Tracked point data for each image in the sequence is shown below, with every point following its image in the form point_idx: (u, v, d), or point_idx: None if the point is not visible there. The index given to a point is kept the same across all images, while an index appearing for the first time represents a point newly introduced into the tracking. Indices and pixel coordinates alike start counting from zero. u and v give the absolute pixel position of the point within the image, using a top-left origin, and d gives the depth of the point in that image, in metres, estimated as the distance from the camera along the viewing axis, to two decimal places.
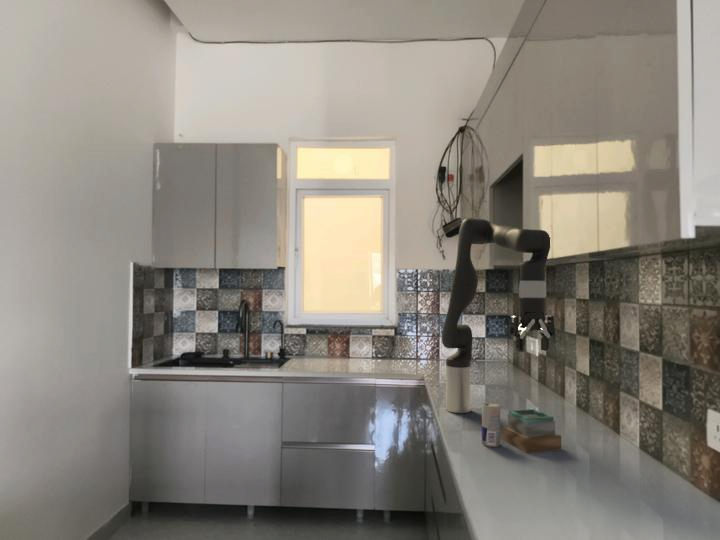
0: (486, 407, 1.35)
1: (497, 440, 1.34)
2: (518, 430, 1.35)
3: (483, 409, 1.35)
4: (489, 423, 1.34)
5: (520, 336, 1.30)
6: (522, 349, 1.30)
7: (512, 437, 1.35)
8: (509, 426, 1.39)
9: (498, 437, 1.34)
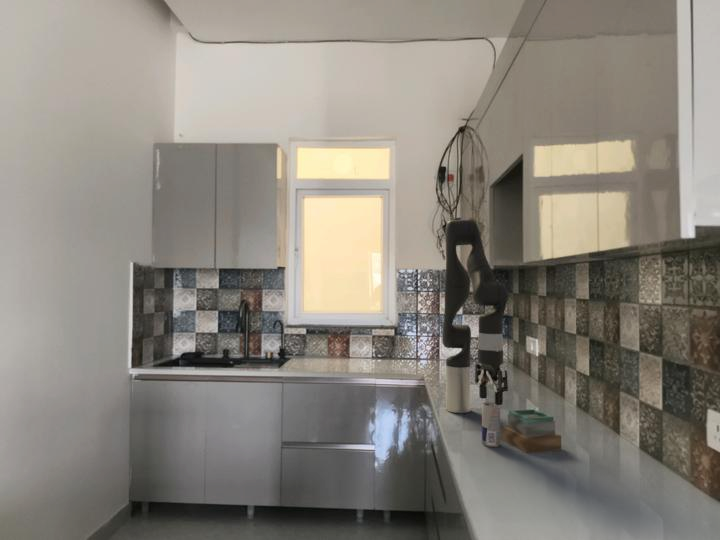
0: (486, 407, 1.35)
1: (497, 440, 1.34)
2: (518, 430, 1.35)
3: (483, 409, 1.35)
4: (489, 423, 1.34)
5: None
6: None
7: (512, 437, 1.35)
8: (509, 426, 1.39)
9: (498, 437, 1.34)
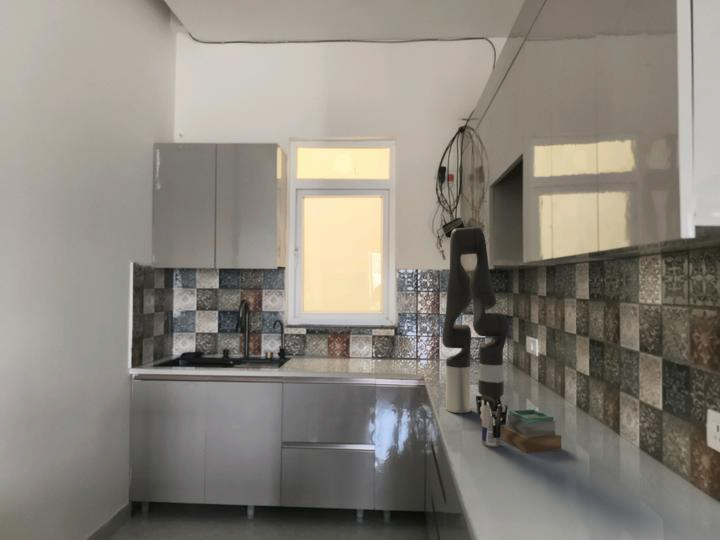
0: (486, 407, 1.35)
1: (497, 440, 1.34)
2: (518, 430, 1.35)
3: (483, 409, 1.35)
4: (489, 423, 1.34)
5: None
6: None
7: (512, 437, 1.35)
8: (509, 426, 1.39)
9: None
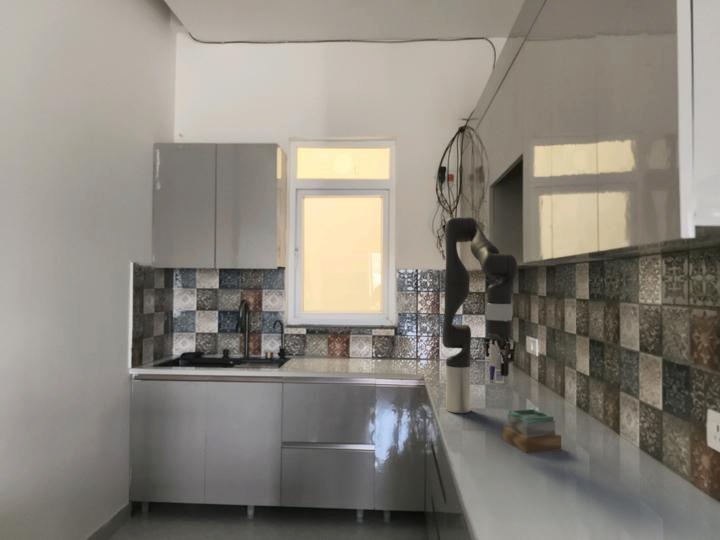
0: (494, 346, 1.35)
1: (505, 378, 1.34)
2: (518, 430, 1.35)
3: (491, 348, 1.36)
4: (497, 361, 1.35)
5: None
6: None
7: (512, 437, 1.35)
8: (509, 426, 1.39)
9: None
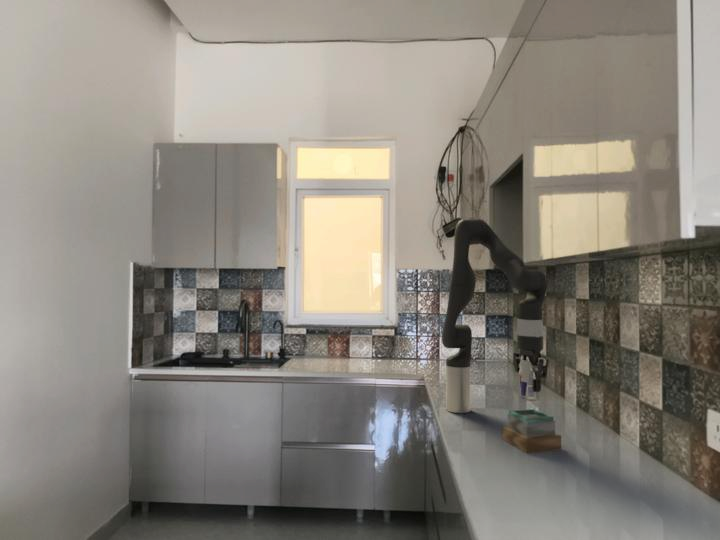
0: (526, 362, 1.36)
1: (537, 394, 1.35)
2: (518, 430, 1.35)
3: (522, 364, 1.37)
4: (529, 377, 1.35)
5: None
6: None
7: (512, 437, 1.35)
8: (509, 426, 1.39)
9: None
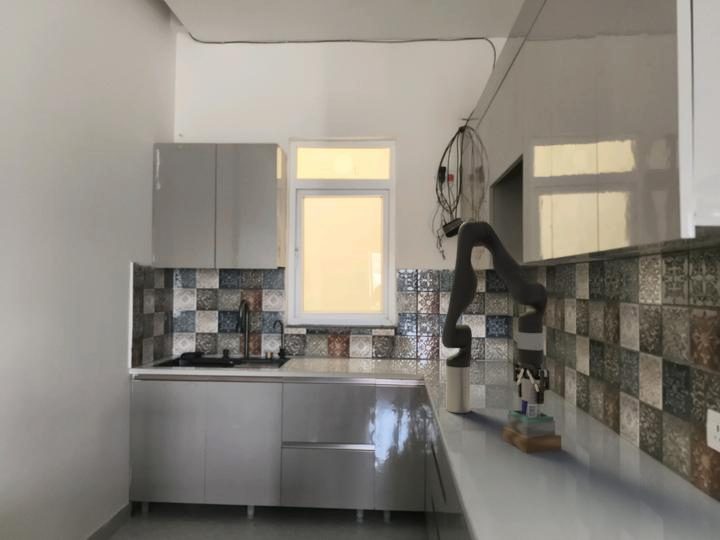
0: (526, 380, 1.35)
1: (538, 413, 1.34)
2: (518, 430, 1.35)
3: (523, 382, 1.36)
4: (530, 396, 1.34)
5: None
6: None
7: (512, 437, 1.35)
8: (509, 426, 1.39)
9: (538, 410, 1.35)
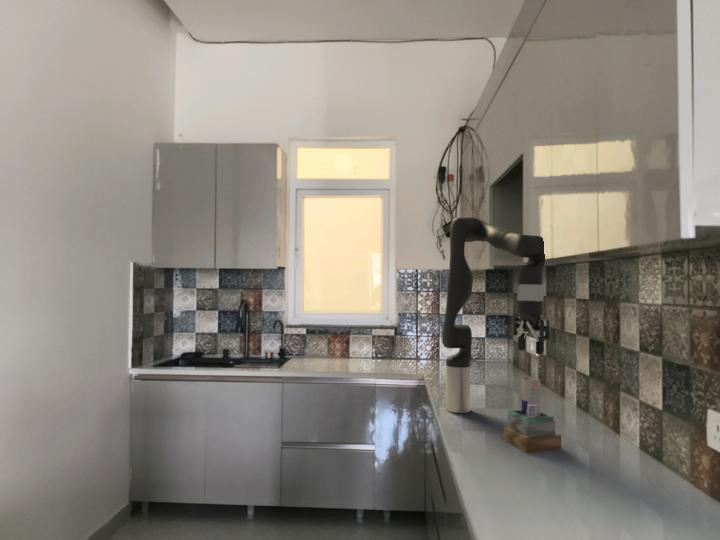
0: (526, 380, 1.35)
1: (538, 413, 1.34)
2: (518, 430, 1.35)
3: (523, 383, 1.36)
4: (530, 396, 1.34)
5: None
6: None
7: (512, 437, 1.35)
8: (509, 426, 1.39)
9: (538, 410, 1.35)
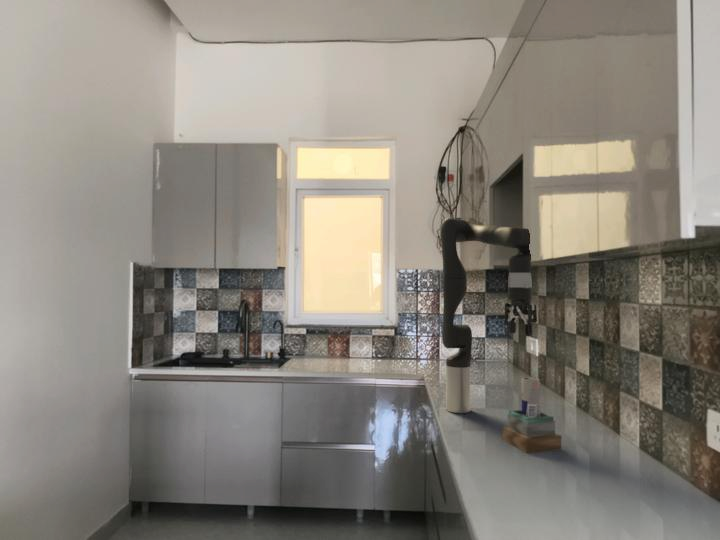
0: (526, 380, 1.35)
1: (538, 413, 1.34)
2: (518, 430, 1.35)
3: (523, 383, 1.36)
4: (530, 396, 1.34)
5: None
6: None
7: (512, 437, 1.35)
8: (509, 426, 1.39)
9: (538, 410, 1.35)
